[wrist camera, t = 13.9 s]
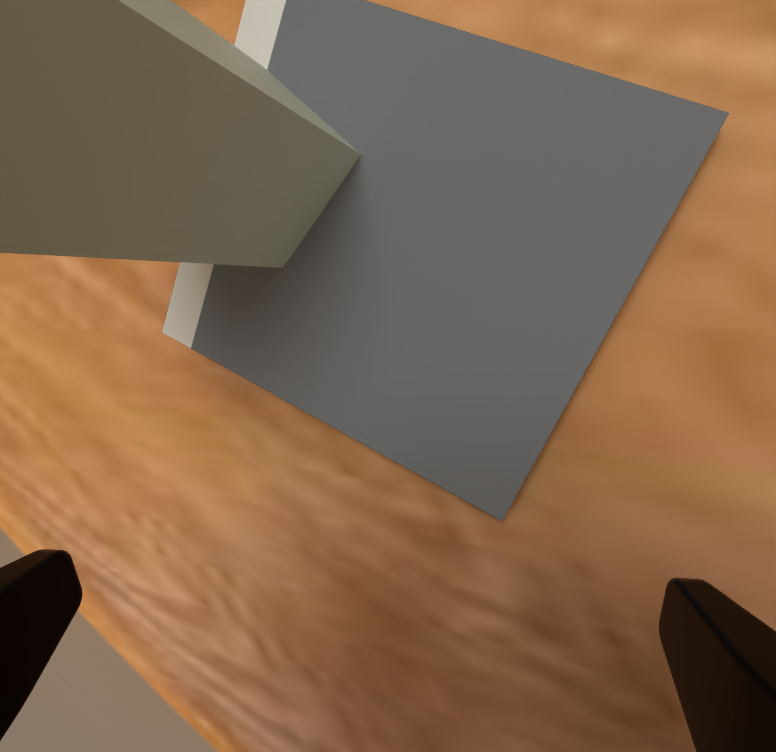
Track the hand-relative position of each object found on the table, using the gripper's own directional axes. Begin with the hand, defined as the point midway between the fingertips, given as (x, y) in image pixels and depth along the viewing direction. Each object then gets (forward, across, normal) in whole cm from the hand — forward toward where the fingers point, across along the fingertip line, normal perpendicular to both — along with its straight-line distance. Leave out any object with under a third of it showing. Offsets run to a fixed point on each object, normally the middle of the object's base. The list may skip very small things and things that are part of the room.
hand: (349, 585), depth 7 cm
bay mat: (+13, +1, -4) cm, 13 cm away
